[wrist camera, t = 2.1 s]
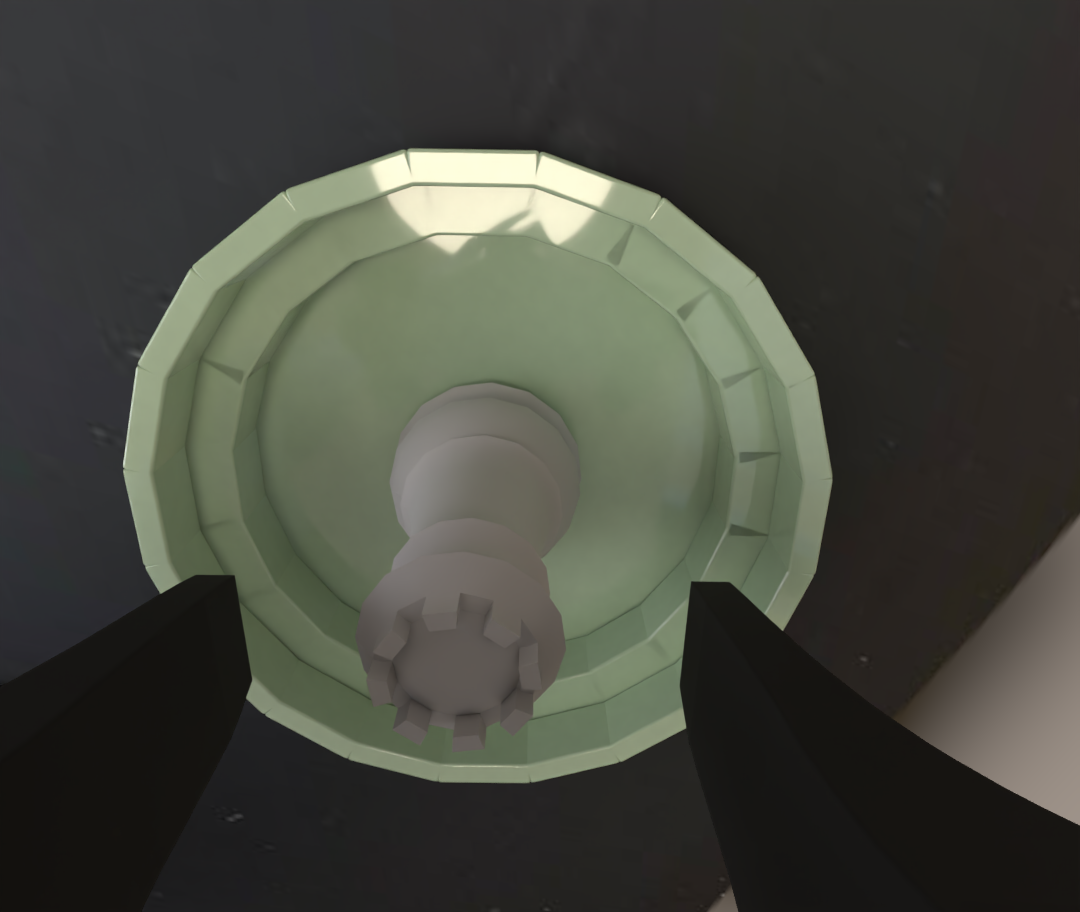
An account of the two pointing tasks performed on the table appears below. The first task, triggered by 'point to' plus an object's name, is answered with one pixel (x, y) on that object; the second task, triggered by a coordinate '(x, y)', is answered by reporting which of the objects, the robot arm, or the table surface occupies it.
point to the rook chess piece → (472, 565)
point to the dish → (459, 360)
